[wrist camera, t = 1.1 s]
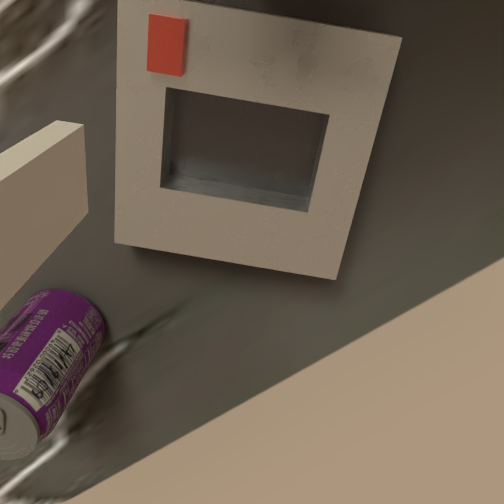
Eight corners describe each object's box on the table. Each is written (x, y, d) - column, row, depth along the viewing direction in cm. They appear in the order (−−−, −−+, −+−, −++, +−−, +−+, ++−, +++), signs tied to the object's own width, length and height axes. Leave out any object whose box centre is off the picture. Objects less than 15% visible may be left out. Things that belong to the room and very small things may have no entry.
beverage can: (23, 277, 40) (-75, 378, 29) (107, 290, 40) (40, 396, 29) (30, 344, 43) (-55, 456, 32) (108, 356, 43) (48, 472, 32)
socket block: (133, -10, 29) (113, -12, 26) (392, 34, 29) (405, 38, 26) (127, 225, 37) (110, 247, 33) (332, 259, 37) (336, 286, 33)
